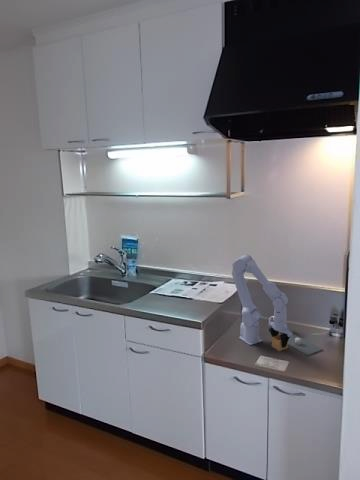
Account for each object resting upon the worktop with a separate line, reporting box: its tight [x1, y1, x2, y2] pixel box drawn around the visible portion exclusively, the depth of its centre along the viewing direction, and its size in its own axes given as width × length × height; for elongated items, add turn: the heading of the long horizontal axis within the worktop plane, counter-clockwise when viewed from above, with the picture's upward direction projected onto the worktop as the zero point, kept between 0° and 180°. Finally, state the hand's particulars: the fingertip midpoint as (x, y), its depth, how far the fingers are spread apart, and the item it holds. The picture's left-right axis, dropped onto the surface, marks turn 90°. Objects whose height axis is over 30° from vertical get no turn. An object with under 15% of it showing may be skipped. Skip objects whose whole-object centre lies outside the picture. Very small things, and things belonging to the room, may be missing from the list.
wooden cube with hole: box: [271, 334, 289, 352], centre depth 184 cm, size 5×5×5 cm
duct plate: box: [288, 332, 324, 357], centre depth 186 cm, size 20×10×3 cm, turn 28°
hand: (279, 344), depth 184 cm, fingers closed on wooden cube with hole, 5 cm apart
